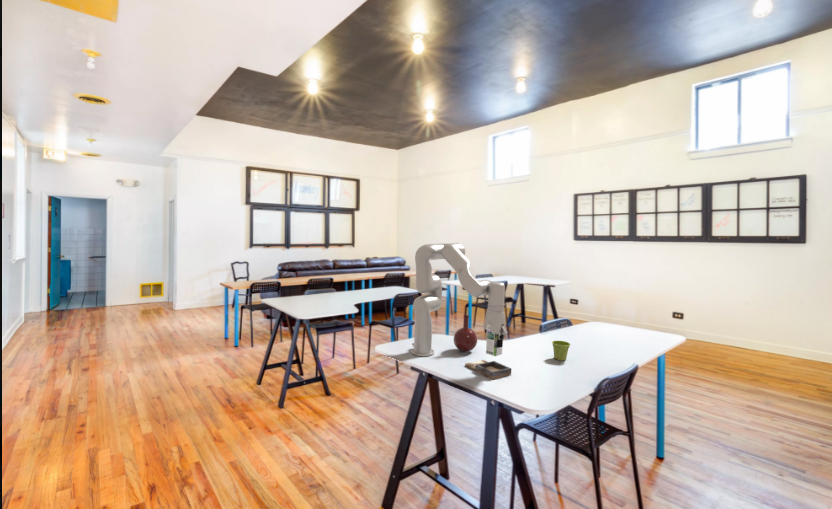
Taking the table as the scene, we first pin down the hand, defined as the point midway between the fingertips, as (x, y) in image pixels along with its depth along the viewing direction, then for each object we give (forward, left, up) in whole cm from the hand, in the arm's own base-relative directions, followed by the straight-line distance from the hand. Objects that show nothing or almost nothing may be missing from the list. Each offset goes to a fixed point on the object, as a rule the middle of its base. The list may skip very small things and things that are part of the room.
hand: (494, 344), depth 203 cm
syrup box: (0, 0, -5) cm, 5 cm away
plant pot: (+1, +47, -14) cm, 49 cm away
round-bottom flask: (-33, +9, -14) cm, 37 cm away
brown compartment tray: (-4, 0, -14) cm, 14 cm away
